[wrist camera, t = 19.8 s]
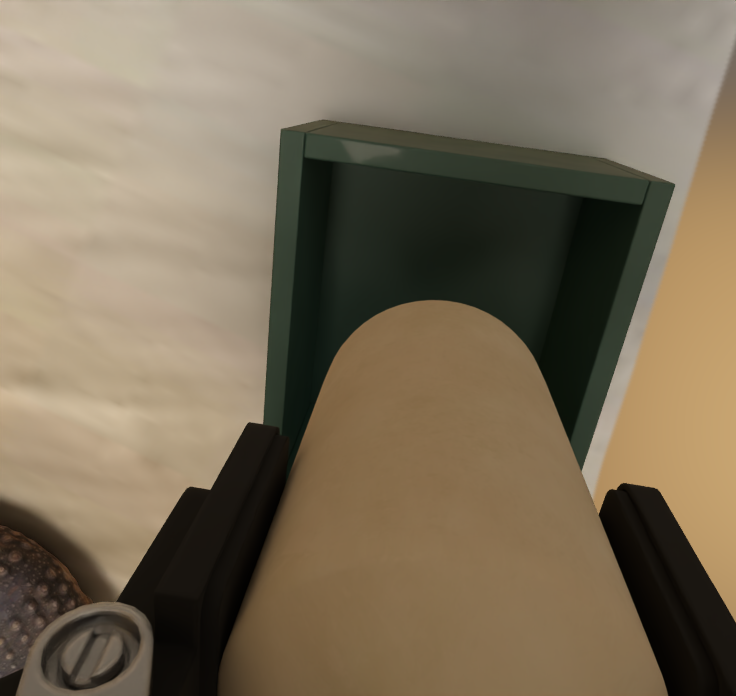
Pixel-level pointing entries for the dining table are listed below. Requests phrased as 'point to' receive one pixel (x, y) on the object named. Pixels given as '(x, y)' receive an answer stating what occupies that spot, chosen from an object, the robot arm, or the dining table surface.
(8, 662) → the sea urchin shell
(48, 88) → the dining table surface
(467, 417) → the candle
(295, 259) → the chest
